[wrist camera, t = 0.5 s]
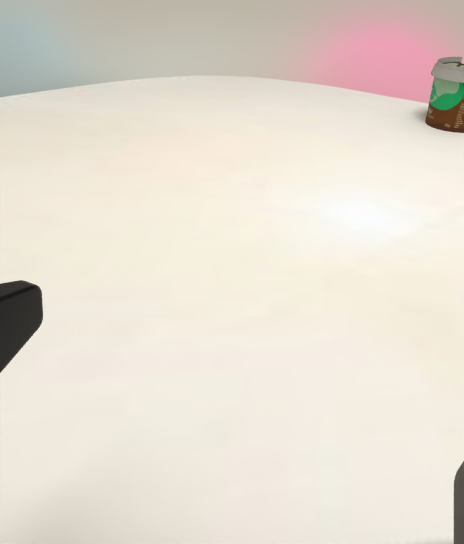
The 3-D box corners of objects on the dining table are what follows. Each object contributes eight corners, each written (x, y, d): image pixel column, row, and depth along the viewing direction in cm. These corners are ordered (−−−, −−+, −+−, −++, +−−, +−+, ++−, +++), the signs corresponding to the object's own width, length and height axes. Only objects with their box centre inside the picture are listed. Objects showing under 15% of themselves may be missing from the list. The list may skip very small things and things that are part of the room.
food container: (410, 113, 79) (425, 55, 73) (444, 114, 79) (461, 56, 73) (429, 134, 69) (447, 69, 64) (467, 135, 69) (489, 69, 63)
